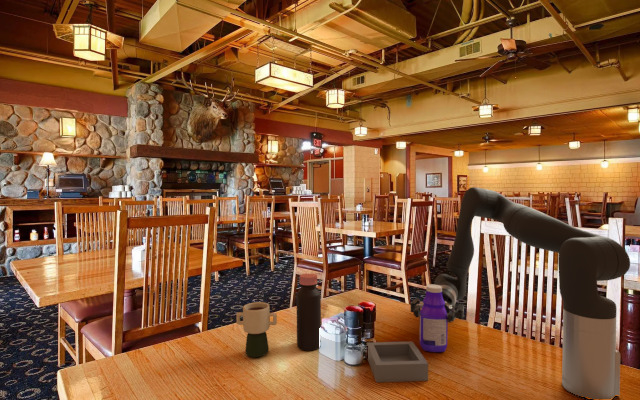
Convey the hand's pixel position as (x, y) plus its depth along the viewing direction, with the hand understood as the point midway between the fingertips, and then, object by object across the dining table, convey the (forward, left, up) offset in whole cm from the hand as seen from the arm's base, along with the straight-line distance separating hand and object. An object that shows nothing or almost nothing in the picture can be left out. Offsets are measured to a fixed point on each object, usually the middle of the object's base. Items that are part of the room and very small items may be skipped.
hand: (432, 316), depth 98 cm
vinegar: (+33, -5, -10) cm, 35 cm away
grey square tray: (+12, +9, -10) cm, 18 cm away
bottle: (-1, -1, -10) cm, 10 cm away
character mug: (+47, -1, -10) cm, 48 cm away
